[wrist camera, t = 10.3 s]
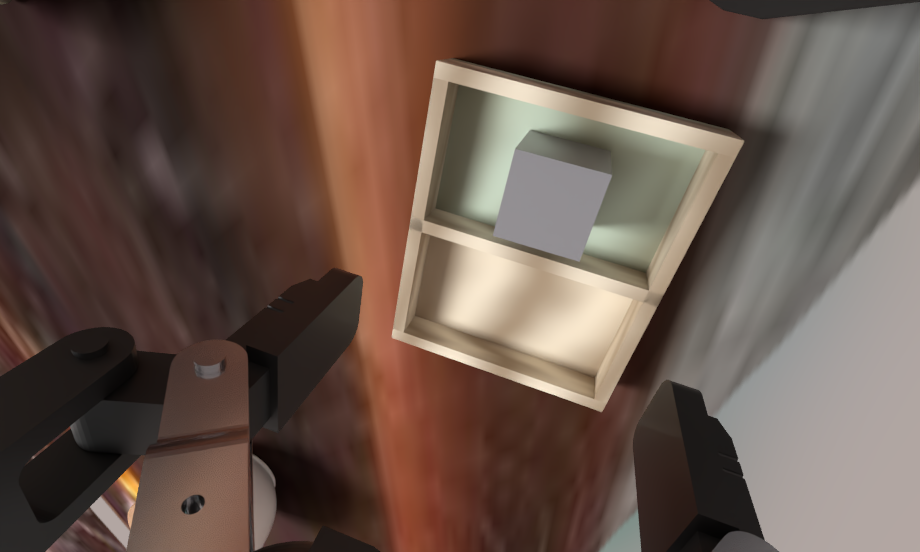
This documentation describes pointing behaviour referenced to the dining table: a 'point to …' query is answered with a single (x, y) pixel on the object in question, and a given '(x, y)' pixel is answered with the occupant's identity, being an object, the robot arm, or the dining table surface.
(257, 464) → the lidded bowl
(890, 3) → the coffee jar
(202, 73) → the dining table surface
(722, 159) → the tray
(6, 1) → the tabletop clock
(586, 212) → the gray cube
